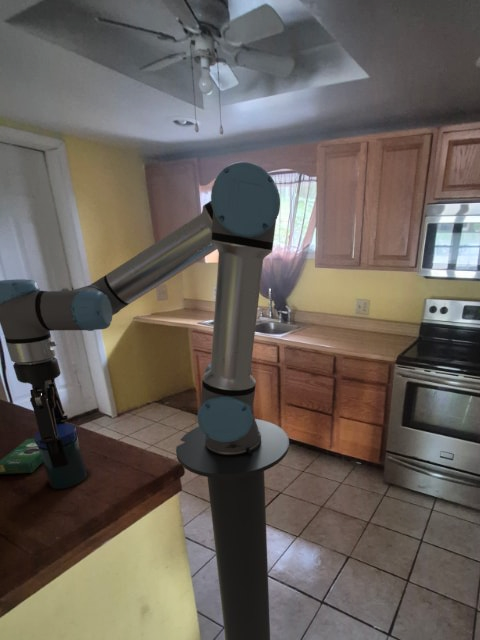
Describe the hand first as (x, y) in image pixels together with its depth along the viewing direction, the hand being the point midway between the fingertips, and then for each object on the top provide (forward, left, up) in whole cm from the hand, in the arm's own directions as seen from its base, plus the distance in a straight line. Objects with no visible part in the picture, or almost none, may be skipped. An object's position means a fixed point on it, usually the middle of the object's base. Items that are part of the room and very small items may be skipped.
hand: (62, 455), depth 84 cm
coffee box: (+21, -4, -5) cm, 22 cm away
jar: (0, 0, -6) cm, 6 cm away
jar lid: (0, 0, +6) cm, 6 cm away
